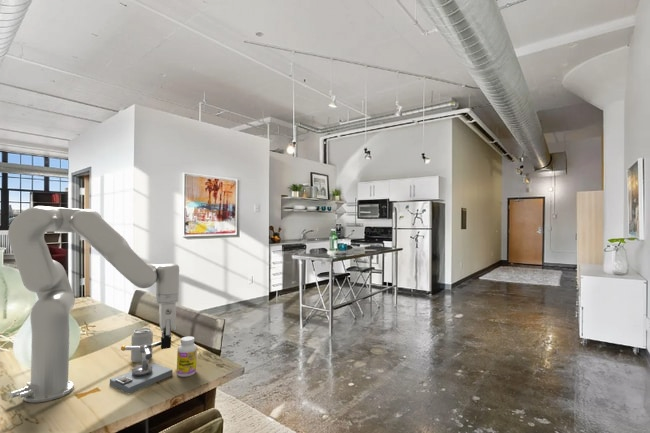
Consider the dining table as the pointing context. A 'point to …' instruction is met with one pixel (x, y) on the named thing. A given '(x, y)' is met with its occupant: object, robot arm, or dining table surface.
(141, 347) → the capstan
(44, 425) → the dining table surface
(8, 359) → the dining table surface
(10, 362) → the dining table surface
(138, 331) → the can
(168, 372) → the stand
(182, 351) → the supplement bottle
